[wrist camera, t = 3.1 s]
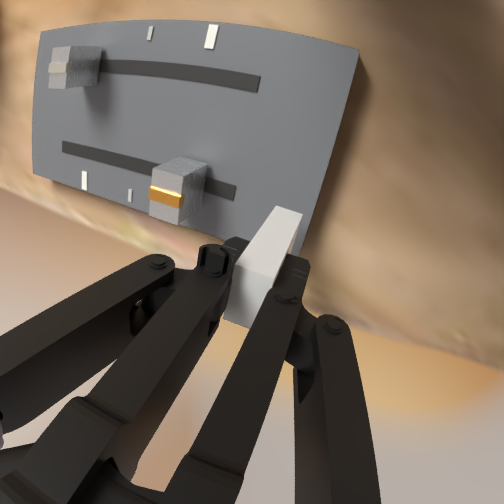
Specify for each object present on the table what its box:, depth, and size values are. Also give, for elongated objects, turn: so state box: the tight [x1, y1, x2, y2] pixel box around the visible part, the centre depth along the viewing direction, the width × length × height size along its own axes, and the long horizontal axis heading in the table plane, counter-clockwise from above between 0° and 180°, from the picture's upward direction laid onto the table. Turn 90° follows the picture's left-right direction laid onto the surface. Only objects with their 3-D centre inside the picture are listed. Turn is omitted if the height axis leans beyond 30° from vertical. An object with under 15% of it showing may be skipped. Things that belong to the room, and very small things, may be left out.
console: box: [32, 20, 360, 257], centre depth 20 cm, size 26×14×2 cm, turn 77°
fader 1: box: [48, 46, 102, 89], centre depth 17 cm, size 2×3×3 cm, turn 166°
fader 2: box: [148, 156, 208, 225], centre depth 19 cm, size 2×3×3 cm, turn 167°
